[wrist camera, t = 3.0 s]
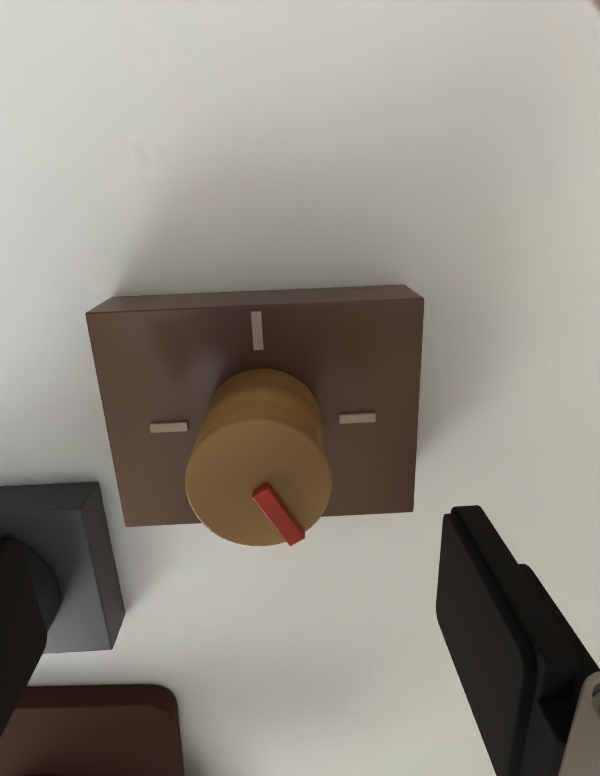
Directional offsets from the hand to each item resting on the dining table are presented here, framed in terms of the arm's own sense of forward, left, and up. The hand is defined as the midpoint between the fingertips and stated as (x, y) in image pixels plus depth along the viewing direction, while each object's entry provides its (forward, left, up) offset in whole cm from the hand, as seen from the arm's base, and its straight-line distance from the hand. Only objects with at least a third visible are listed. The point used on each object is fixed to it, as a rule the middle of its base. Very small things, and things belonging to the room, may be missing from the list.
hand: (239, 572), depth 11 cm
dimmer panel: (0, 0, -12) cm, 12 cm away
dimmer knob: (0, 0, -9) cm, 9 cm away
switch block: (+13, +8, -12) cm, 19 cm away
